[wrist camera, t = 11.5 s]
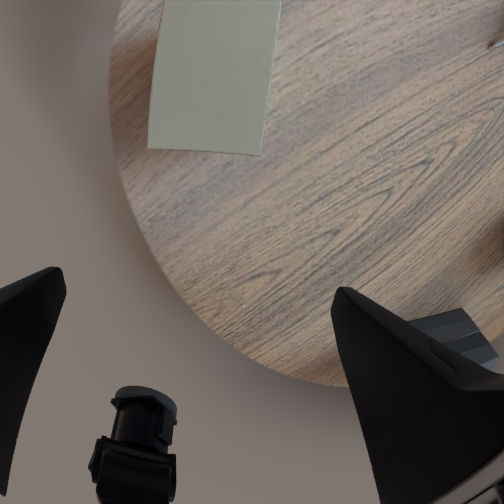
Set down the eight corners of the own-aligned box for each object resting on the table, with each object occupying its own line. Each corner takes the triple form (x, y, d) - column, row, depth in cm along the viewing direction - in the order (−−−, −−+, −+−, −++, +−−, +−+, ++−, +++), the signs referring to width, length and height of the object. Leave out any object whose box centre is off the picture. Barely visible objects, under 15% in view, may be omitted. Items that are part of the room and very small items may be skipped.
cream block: (256, 149, 14) (260, 156, 12) (158, 142, 14) (145, 149, 12) (275, 5, 11) (283, -11, 9) (176, -2, 10) (167, -18, 8)
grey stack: (383, 364, 29) (409, 421, 22) (396, 322, 26) (432, 383, 19) (446, 346, 29) (476, 393, 22) (463, 306, 26) (501, 353, 19)
